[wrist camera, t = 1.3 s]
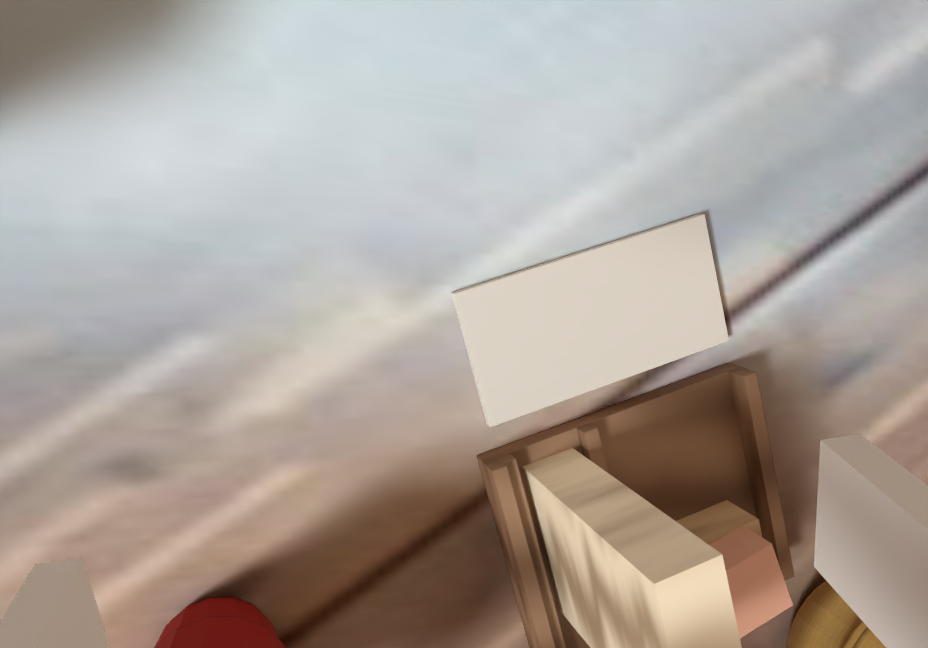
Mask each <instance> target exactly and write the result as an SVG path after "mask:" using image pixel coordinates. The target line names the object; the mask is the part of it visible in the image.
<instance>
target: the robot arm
mask: <svg viewBox="0 0 928 648" xmlns="http://www.w3.org/2000/svg"><path fill="white" fill-rule="evenodd" d="M814 567H815V568H816V570H817V571H818V572H819V573H820V574H821V575H822V576H823V577H824V578H825V580H826V581H827V582H828V583H829V584H830V585H831V586H832V587H833V589H834V590H835V591H836V592H837V593H838V594H839V595H840V596H841V598H842V599H843V600H844V601H845V602H846V603H847V604H848V605H849V607H850V608H851V609H852V610H853V611H854V612H855V613H856V614H857V615H858V617H859V618H860V619H861V620H862V621H863V622H864V623H865V624H866V626H867V627H868V628H869V629H870V630H871V631H872V632H873V633H874V635H875V636H876V637H877V638H878V639H879V640H880V641H881V642H882V644H883V645H884V646H885V647H886V648H928V485H926V484H925V483H924V482H923V481H921V480H920V479H919V478H917V477H916V476H915V475H913V474H912V473H911V472H909V471H908V470H907V469H905V468H904V467H903V466H901V465H900V464H899V463H897V462H896V461H895V460H894V459H892V458H891V457H890V456H888V455H887V454H886V453H884V452H883V451H882V450H880V449H879V448H878V447H876V446H875V445H874V444H872V443H871V442H870V441H869V440H867V439H866V438H865V437H863V436H862V435H861V434H857V435H850V436H844V437H838V438H831V439H825V440H820V459H819V478H818V498H817V517H816V537H815V556H814ZM0 648H110V646H109V643H108V640H107V637H106V633H105V630H104V627H103V623H102V620H101V617H100V613H99V610H98V607H97V604H96V600H95V597H94V594H93V590H92V587H91V584H90V580H89V577H88V574H87V571H86V567H85V564H84V561H83V557H78V558H72V559H65V560H59V561H53V562H46V563H40V564H35V566H34V567H33V569H32V570H31V572H30V574H29V575H28V577H27V579H26V580H25V582H24V584H23V585H22V587H21V588H20V590H19V592H18V593H17V595H16V597H15V598H14V600H13V602H12V603H11V605H10V606H9V608H8V610H7V611H6V613H5V615H4V616H3V618H2V619H1V621H0Z"/></svg>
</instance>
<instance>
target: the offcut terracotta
mask: <svg viewBox="0 0 928 648" xmlns="http://www.w3.org/2000/svg"><path fill="white" fill-rule="evenodd" d="M710 546H711V547H713V548H714V549H715V550H717V551H718V552H720V553H721V554H722V555H723V560H724V565H725V570H726V574H727V579H728V584H729V589H730V594H731V598H732V603H733V608H734V613H735V618H736V622H737V627H738V632H739V637H740V638H742V637H743V636H745V635H746V634H748V633H750V632H751V631H753V630H754V629H756V628H758V627H759V626H761V625H762V624H764V623H766V622H767V621H769V620H770V619H772V618H774V617H775V616H777V615H778V614H780V613H782V612H783V611H785V610H786V609H788V608H790V607H791V606H793V603H792V601H791V598H790V595H789V592H788V589H787V586H786V583H785V580H784V577H783V575H782V572H781V569H780V566H779V563H778V560H777V557H776V554H775V551H774V549H773V546H772V543H770V542H768V541H767V540H765V539H764V538H762V537H761V536H759V535H757V534H756V533H754V532H753V531H751V530H749V529H748V528H746V527H745V526H743V525H742V526H740V527H739V528H737V529H735V530H734V531H732V532H730V533H729V534H727V535H725V536H723V537H722V538H720V539H718V540H717V541H715V542H713V543H712V544H710Z"/></svg>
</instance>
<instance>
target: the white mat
mask: <svg viewBox="0 0 928 648" xmlns="http://www.w3.org/2000/svg"><path fill="white" fill-rule="evenodd" d="M451 294H452V298H453V301H454V305H455V309H456V312H457V316H458V320H459V323H460V327H461V331H462V335H463V338H464V342H465V346H466V349H467V353H468V357H469V360H470V364H471V368H472V371H473V375H474V379H475V383H476V386H477V390H478V394H479V397H480V401H481V405H482V408H483V412H484V416H485V419H486V423H487V425H488V426H489V427H492V426H495V425H498V424H501V423H503V422H506V421H509V420H512V419H514V418H517V417H520V416H523V415H525V414H528V413H531V412H534V411H537V410H539V409H542V408H545V407H548V406H550V405H553V404H556V403H559V402H561V401H564V400H567V399H570V398H572V397H575V396H578V395H581V394H583V393H586V392H589V391H592V390H594V389H597V388H600V387H603V386H605V385H608V384H611V383H614V382H617V381H619V380H622V379H625V378H628V377H630V376H633V375H636V374H639V373H641V372H644V371H647V370H650V369H652V368H655V367H658V366H661V365H663V364H666V363H669V362H672V361H674V360H677V359H680V358H683V357H685V356H688V355H691V354H694V353H697V352H699V351H702V350H705V349H708V348H710V347H713V346H716V345H719V344H721V343H724V342H727V341H729V338H728V333H727V328H726V323H725V317H724V312H723V307H722V302H721V297H720V292H719V286H718V281H717V276H716V271H715V266H714V261H713V255H712V250H711V245H710V240H709V235H708V230H707V224H706V219H705V214H697V215H694V216H691V217H688V218H685V219H682V220H678V221H675V222H672V223H669V224H666V225H663V226H660V227H656V228H653V229H650V230H647V231H644V232H641V233H638V234H634V235H631V236H628V237H625V238H622V239H619V240H615V241H612V242H609V243H606V244H603V245H600V246H597V247H593V248H590V249H587V250H584V251H581V252H578V253H574V254H571V255H568V256H565V257H562V258H559V259H556V260H552V261H549V262H546V263H543V264H540V265H537V266H534V267H530V268H527V269H524V270H521V271H518V272H515V273H511V274H508V275H505V276H502V277H499V278H496V279H493V280H489V281H486V282H483V283H480V284H477V285H474V286H471V287H467V288H464V289H461V290H458V291H455V292H452V293H451Z"/></svg>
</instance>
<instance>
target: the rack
mask: <svg viewBox="0 0 928 648" xmlns="http://www.w3.org/2000/svg"><path fill="white" fill-rule="evenodd" d="M570 448H573V449H575V450H576V451H578V452H579V453H581V454H582V455H583V456H585V457H586V458H588V459H589V460H590V461H592V462H593V463H595V464H596V465H597V466H599V467H600V468H602V469H603V470H604V471H606V472H607V473H609V474H610V475H611V476H613V477H614V478H616V479H617V480H618V481H620V482H621V483H623V484H624V485H625V486H627V487H628V488H630V489H631V490H632V491H634V492H635V493H637V494H638V495H640V496H641V497H642V498H644V499H645V500H647V501H648V502H649V503H651V504H652V505H654V506H655V507H656V508H658V509H659V510H661V511H662V512H663V513H665V514H666V515H668V516H669V517H670V518H672V519H673V520H675V521H677V520H680V519H682V518H684V517H687V516H689V515H692V514H694V513H697V512H699V511H701V510H704V509H706V508H709V507H711V506H713V505H716V504H718V503H721V502H723V501H725V500H728V501H729V502H731V503H733V504H734V505H736V506H738V507H739V508H741V509H743V510H744V511H746V512H748V513H749V514H751V515H753V516H755V517H756V518H758V519H759V523H760V528H761V533H762V538H764V539H765V540H767V541H768V542H770V543H772V546H773V549H774V551H775V554H776V557H777V560H778V563H779V566H780V569H781V572H782V575H783V577H784V580H787V579H789V578H792V577H794V571H793V566H792V561H791V555H790V550H789V545H788V539H787V534H786V528H785V523H784V518H783V512H782V507H781V502H780V496H779V491H778V486H777V480H776V475H775V470H774V464H773V459H772V454H771V448H770V443H769V438H768V432H767V427H766V422H765V416H764V411H763V406H762V400H761V395H760V390H759V384H758V379H757V374H756V372H754V371H751V370H748V369H745V368H742V367H739V366H735V365H732V364H729V363H726V364H723V365H721V366H718V367H715V368H713V369H710V370H707V371H704V372H702V373H699V374H696V375H694V376H691V377H688V378H685V379H683V380H680V381H677V382H675V383H672V384H669V385H667V386H664V387H661V388H658V389H656V390H653V391H650V392H648V393H645V394H642V395H639V396H637V397H634V398H631V399H629V400H626V401H623V402H621V403H618V404H615V405H612V406H610V407H607V408H604V409H602V410H599V411H596V412H594V413H591V414H588V415H585V416H583V417H580V418H577V419H575V420H572V421H569V422H566V423H564V424H561V425H558V426H556V427H553V428H550V429H548V430H545V431H542V432H539V433H537V434H534V435H531V436H529V437H526V438H523V439H520V440H518V441H515V442H512V443H510V444H507V445H504V446H502V447H499V448H496V449H493V450H491V451H488V452H485V453H483V454H480V455H477V459H478V462H479V466H480V469H481V473H482V477H483V480H484V484H485V487H486V491H487V495H488V498H489V502H490V506H491V509H492V513H493V516H494V520H495V524H496V527H497V531H498V534H499V538H500V542H501V545H502V549H503V553H504V556H505V560H506V563H507V567H508V571H509V574H510V578H511V582H512V585H513V589H514V592H515V596H516V600H517V603H518V607H519V610H520V614H521V618H522V621H523V625H524V629H525V632H526V636H527V639H528V643H529V647H530V648H590V647H589V645H588V644H587V643H586V642H585V640H584V639H583V638H582V637H581V636H580V634H579V633H578V632H577V631H576V630H575V628H574V627H573V626H572V625H571V623H570V622H569V621H568V620H567V619H566V617H565V616H564V615H563V614H562V612H561V611H560V608H559V604H558V600H557V596H556V592H555V589H554V585H553V581H552V577H551V573H550V570H549V566H548V562H547V558H546V554H545V551H544V547H543V543H542V539H541V535H540V532H539V528H538V524H537V520H536V516H535V513H534V509H533V505H532V501H531V497H530V494H529V490H528V486H527V482H526V478H525V475H524V471H523V466H525V465H528V464H531V463H533V462H536V461H538V460H541V459H544V458H546V457H549V456H552V455H554V454H557V453H560V452H562V451H565V450H568V449H570Z"/></svg>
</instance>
